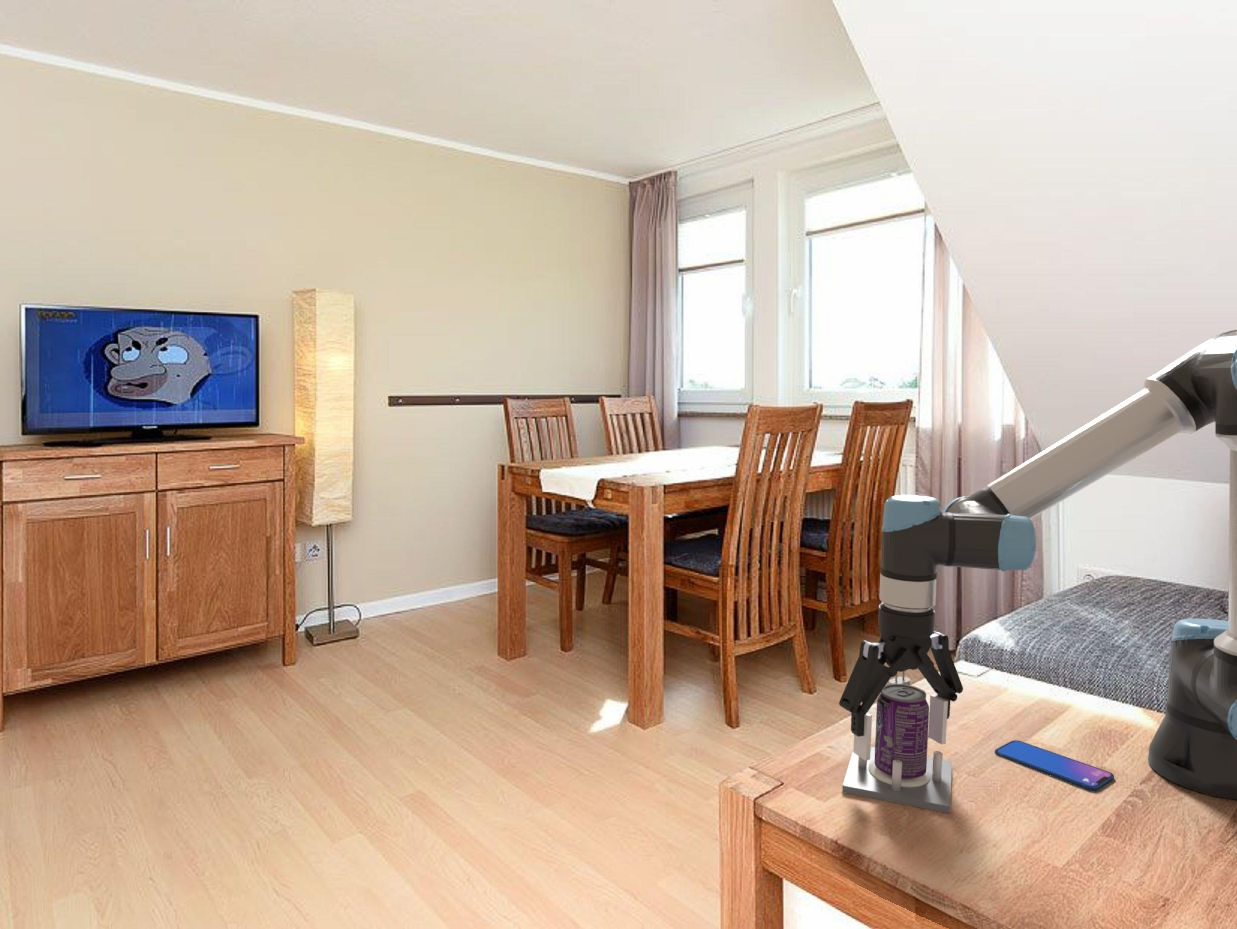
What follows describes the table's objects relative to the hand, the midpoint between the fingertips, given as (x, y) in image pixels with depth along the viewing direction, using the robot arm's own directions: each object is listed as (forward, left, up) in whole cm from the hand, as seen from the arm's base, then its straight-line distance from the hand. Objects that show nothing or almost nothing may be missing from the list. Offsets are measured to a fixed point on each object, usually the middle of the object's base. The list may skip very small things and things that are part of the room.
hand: (900, 748), depth 117 cm
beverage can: (0, 0, -4) cm, 4 cm away
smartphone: (-21, -14, -5) cm, 26 cm away
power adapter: (+1, -14, -5) cm, 15 cm away
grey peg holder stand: (0, 0, -5) cm, 5 cm away
